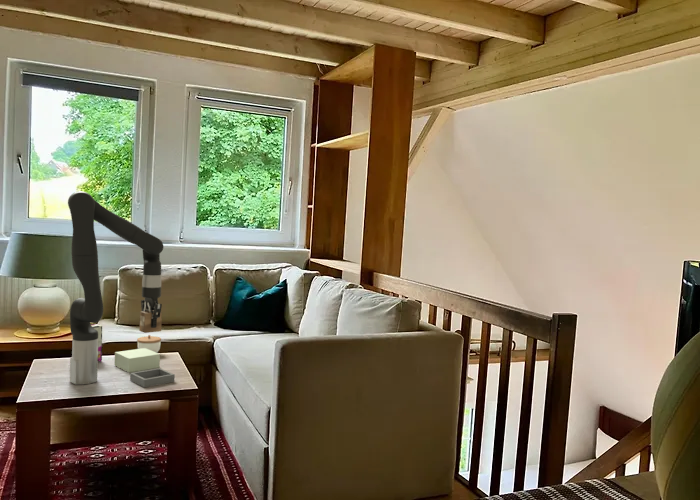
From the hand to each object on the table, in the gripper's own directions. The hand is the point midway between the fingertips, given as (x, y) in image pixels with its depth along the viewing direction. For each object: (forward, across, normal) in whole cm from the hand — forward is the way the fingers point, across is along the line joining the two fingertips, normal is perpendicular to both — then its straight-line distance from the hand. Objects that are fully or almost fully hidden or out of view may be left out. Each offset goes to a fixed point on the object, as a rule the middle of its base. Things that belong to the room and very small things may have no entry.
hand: (150, 326), depth 235 cm
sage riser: (+21, +18, -3) cm, 28 cm away
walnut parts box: (+2, 0, 0) cm, 2 cm away
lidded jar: (+21, +35, -17) cm, 44 cm away
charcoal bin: (+21, -6, +2) cm, 22 cm away
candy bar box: (+21, +37, +11) cm, 44 cm away
